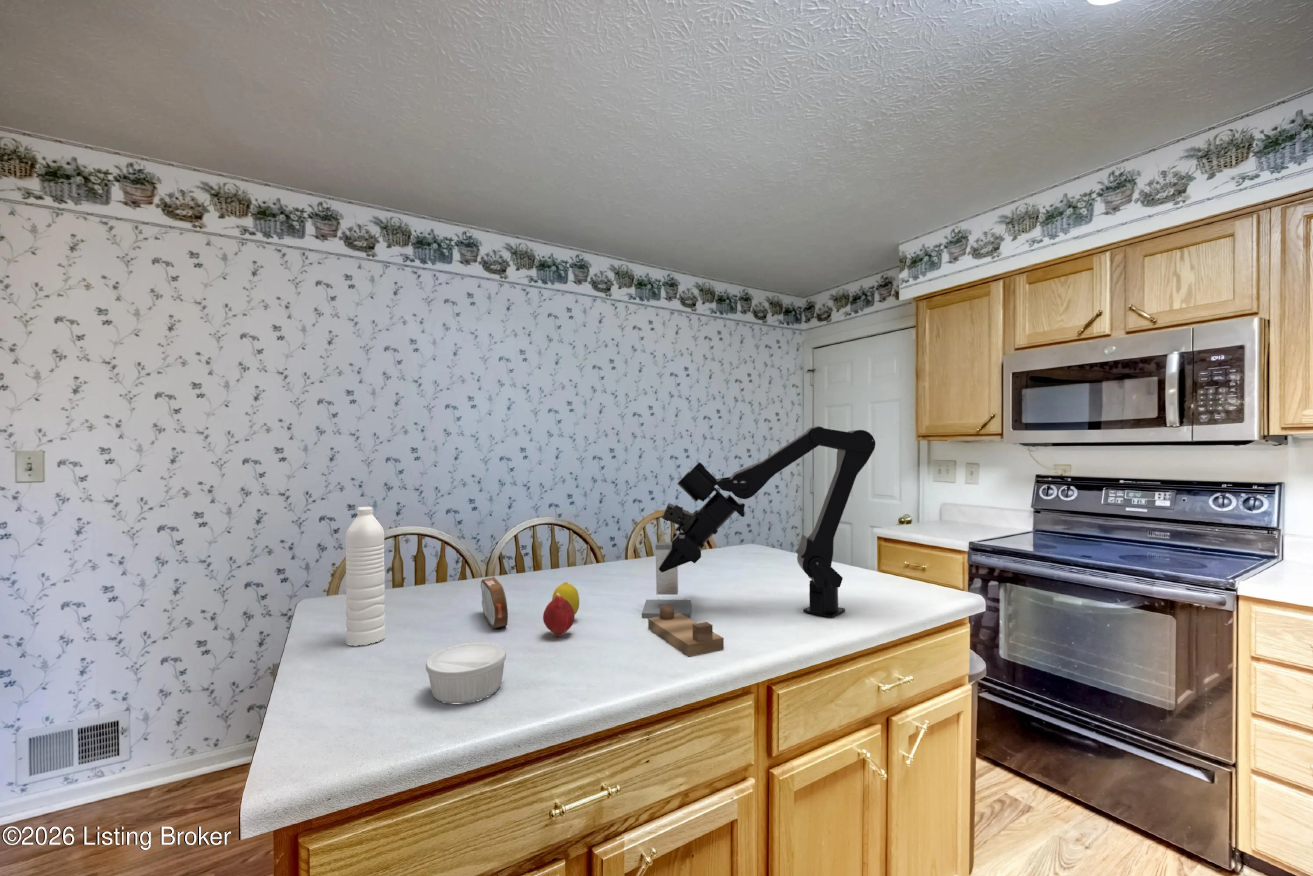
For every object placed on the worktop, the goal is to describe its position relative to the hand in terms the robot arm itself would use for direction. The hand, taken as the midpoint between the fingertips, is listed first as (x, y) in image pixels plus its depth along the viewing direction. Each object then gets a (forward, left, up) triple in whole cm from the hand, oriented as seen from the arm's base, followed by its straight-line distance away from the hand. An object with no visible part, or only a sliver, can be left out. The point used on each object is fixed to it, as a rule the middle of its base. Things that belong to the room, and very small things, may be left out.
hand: (660, 568), depth 119 cm
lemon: (+18, -10, -9) cm, 22 cm away
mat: (-1, +1, -9) cm, 9 cm away
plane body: (+9, +15, -9) cm, 20 cm away
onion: (+24, -4, -9) cm, 26 cm away
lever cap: (-1, +1, -5) cm, 5 cm away
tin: (+28, -21, -9) cm, 36 cm away
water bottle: (+50, -28, -9) cm, 58 cm away
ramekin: (+47, +5, -9) cm, 48 cm away
